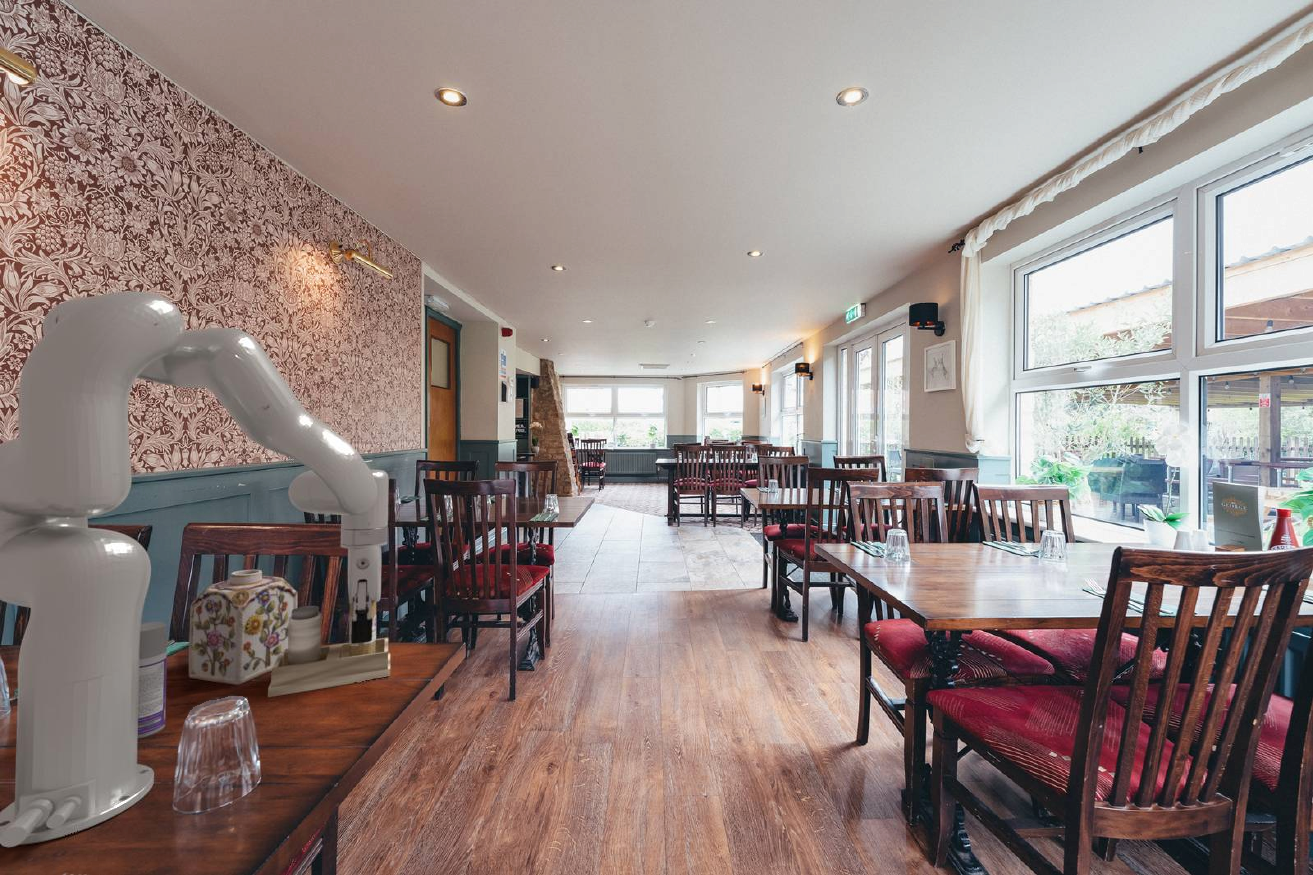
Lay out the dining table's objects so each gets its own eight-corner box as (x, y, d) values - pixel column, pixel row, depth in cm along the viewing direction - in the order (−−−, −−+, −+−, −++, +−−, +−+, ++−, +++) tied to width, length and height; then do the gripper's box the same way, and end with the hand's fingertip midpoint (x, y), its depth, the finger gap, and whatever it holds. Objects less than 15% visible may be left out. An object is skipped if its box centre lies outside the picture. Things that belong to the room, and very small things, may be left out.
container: (131, 726, 79) (134, 623, 79) (171, 720, 81) (173, 620, 81) (112, 742, 75) (115, 634, 75) (155, 736, 76) (157, 630, 76)
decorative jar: (185, 679, 95) (188, 576, 95) (250, 654, 106) (252, 563, 106) (239, 686, 92) (241, 581, 92) (299, 660, 103) (300, 566, 104)
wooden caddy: (390, 677, 96) (391, 606, 96) (268, 697, 88) (269, 619, 88) (390, 660, 104) (391, 594, 104) (277, 677, 96) (278, 606, 96)
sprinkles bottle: (377, 661, 97) (379, 587, 97) (348, 667, 95) (350, 590, 95) (374, 653, 101) (376, 581, 101) (346, 658, 98) (348, 584, 99)
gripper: (387, 543, 92) (385, 650, 92) (387, 529, 107) (385, 621, 107) (336, 546, 89) (334, 657, 89) (344, 531, 104) (342, 626, 104)
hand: (362, 636), depth 98 cm, fingers closed on sprinkles bottle, 4 cm apart
